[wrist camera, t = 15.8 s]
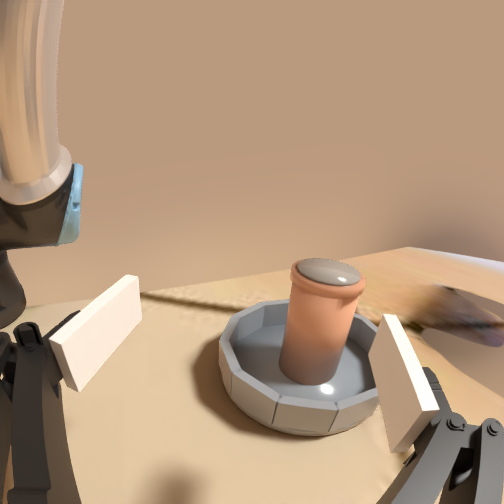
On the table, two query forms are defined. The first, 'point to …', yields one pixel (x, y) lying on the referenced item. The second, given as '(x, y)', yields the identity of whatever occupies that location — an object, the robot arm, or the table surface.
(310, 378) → the terracotta jar
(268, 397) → the slate bowl
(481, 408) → the table surface
